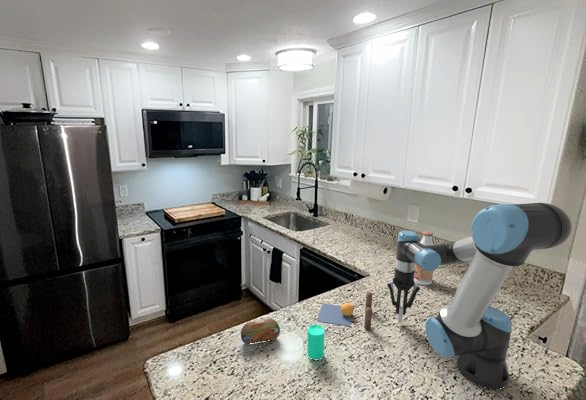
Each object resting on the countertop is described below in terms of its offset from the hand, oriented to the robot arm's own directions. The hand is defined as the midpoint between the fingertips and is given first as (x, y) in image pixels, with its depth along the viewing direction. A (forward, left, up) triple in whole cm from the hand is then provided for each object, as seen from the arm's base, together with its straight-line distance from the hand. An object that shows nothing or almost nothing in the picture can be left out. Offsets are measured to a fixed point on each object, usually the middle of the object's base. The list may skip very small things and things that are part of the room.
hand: (399, 320), depth 128 cm
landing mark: (0, +27, -2) cm, 27 cm away
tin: (-25, +53, -2) cm, 59 cm away
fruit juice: (+43, -15, -2) cm, 46 cm away
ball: (+1, +22, +1) cm, 22 cm away
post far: (+6, +13, -2) cm, 15 cm away
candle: (-27, +31, -2) cm, 41 cm away
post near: (-6, +13, -2) cm, 15 cm away
